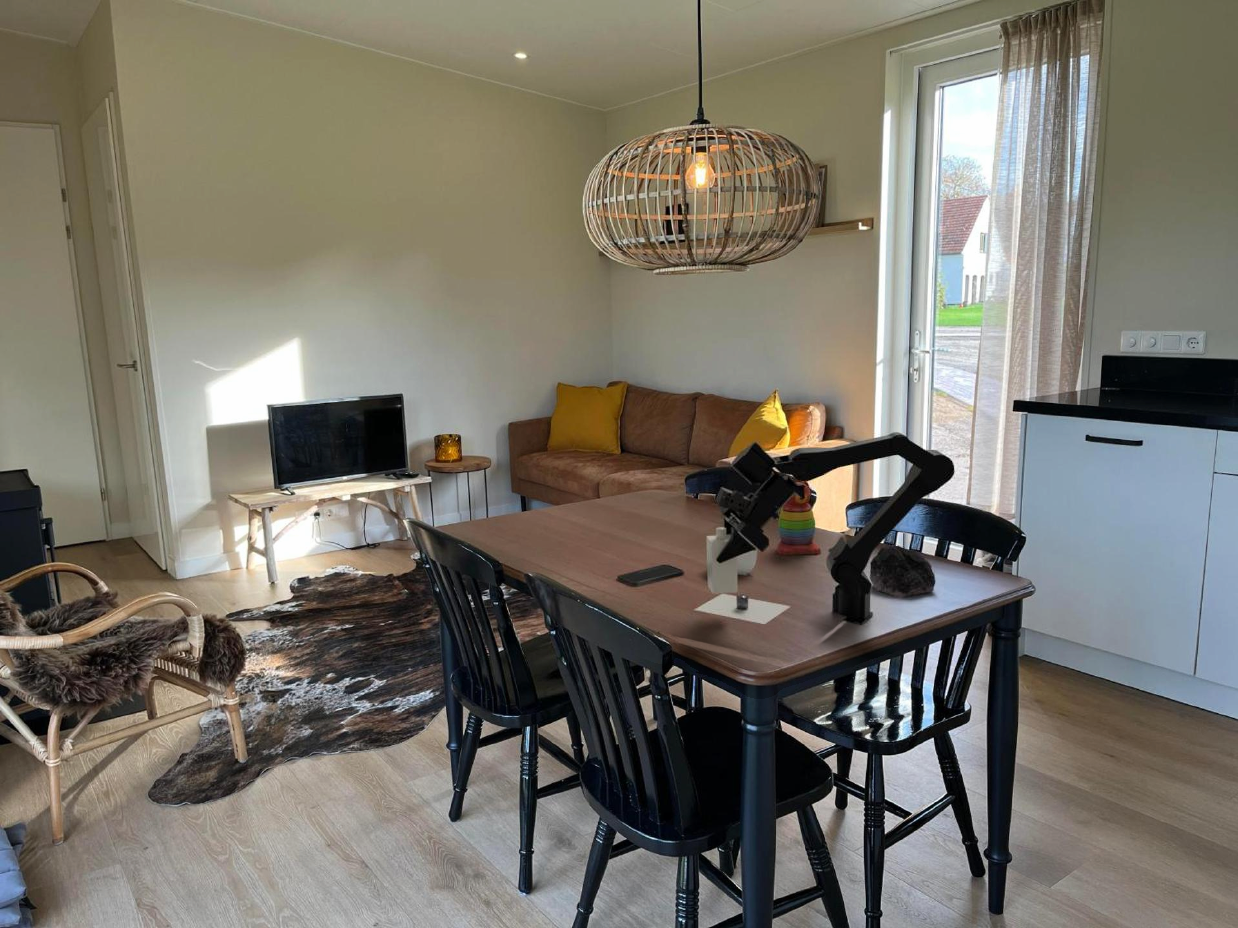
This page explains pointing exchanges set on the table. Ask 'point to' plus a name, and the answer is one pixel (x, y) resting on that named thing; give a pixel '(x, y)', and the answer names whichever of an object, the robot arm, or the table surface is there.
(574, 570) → the table surface
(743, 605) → the metal post
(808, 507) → the stacking bear
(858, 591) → the robot arm
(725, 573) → the white knobbed block
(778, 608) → the stone board
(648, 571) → the phone
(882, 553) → the dark rough rock
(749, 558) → the lidded jar
